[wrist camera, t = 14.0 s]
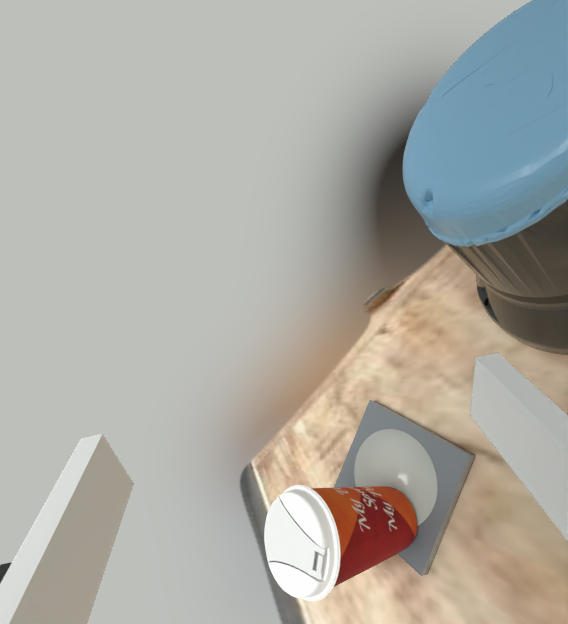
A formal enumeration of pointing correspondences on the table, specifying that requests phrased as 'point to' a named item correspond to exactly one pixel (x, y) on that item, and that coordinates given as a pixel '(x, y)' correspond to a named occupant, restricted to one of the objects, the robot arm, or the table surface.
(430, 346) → the table surface
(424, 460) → the coaster
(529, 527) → the table surface
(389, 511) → the paper cup
